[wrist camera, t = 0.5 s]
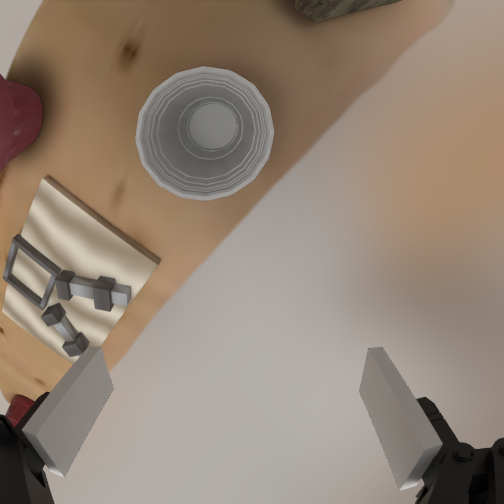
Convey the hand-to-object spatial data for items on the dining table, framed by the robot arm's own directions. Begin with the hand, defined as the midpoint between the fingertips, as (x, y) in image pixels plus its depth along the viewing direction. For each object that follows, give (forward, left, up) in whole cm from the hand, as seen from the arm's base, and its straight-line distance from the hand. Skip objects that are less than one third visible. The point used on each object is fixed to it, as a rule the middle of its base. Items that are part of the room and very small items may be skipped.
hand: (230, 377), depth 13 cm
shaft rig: (+27, -13, -26) cm, 39 cm away
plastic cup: (-6, -8, -26) cm, 28 cm away
